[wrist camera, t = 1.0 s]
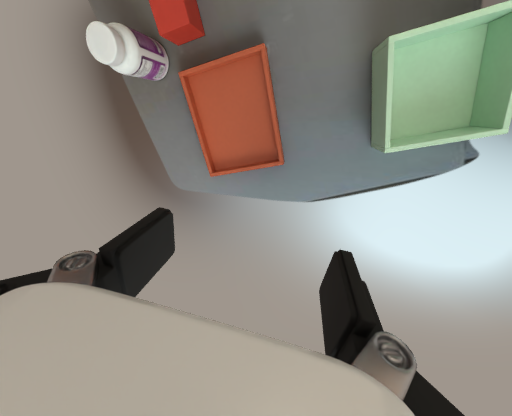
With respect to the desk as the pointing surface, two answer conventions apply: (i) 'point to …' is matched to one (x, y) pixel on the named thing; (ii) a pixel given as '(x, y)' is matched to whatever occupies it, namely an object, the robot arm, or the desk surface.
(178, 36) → the red block
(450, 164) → the desk surface
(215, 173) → the orange tray
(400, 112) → the sage bin
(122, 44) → the pill bottle
